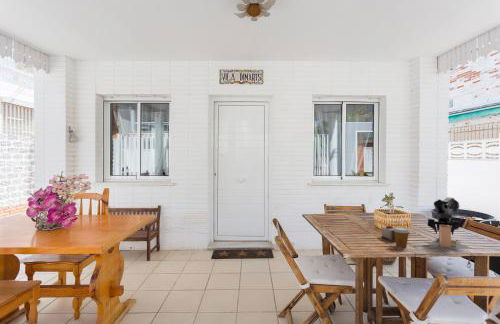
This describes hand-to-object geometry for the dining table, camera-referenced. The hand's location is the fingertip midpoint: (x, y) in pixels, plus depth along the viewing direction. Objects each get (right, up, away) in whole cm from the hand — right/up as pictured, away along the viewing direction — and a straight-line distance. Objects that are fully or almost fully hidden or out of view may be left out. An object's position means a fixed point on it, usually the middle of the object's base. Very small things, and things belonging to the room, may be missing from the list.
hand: (444, 234), depth 200 cm
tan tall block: (0, -8, 0) cm, 8 cm away
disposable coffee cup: (-29, -9, +1) cm, 30 cm away
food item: (-28, -9, +20) cm, 35 cm away
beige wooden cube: (+6, -9, +1) cm, 11 cm away
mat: (+3, -9, +2) cm, 9 cm away
